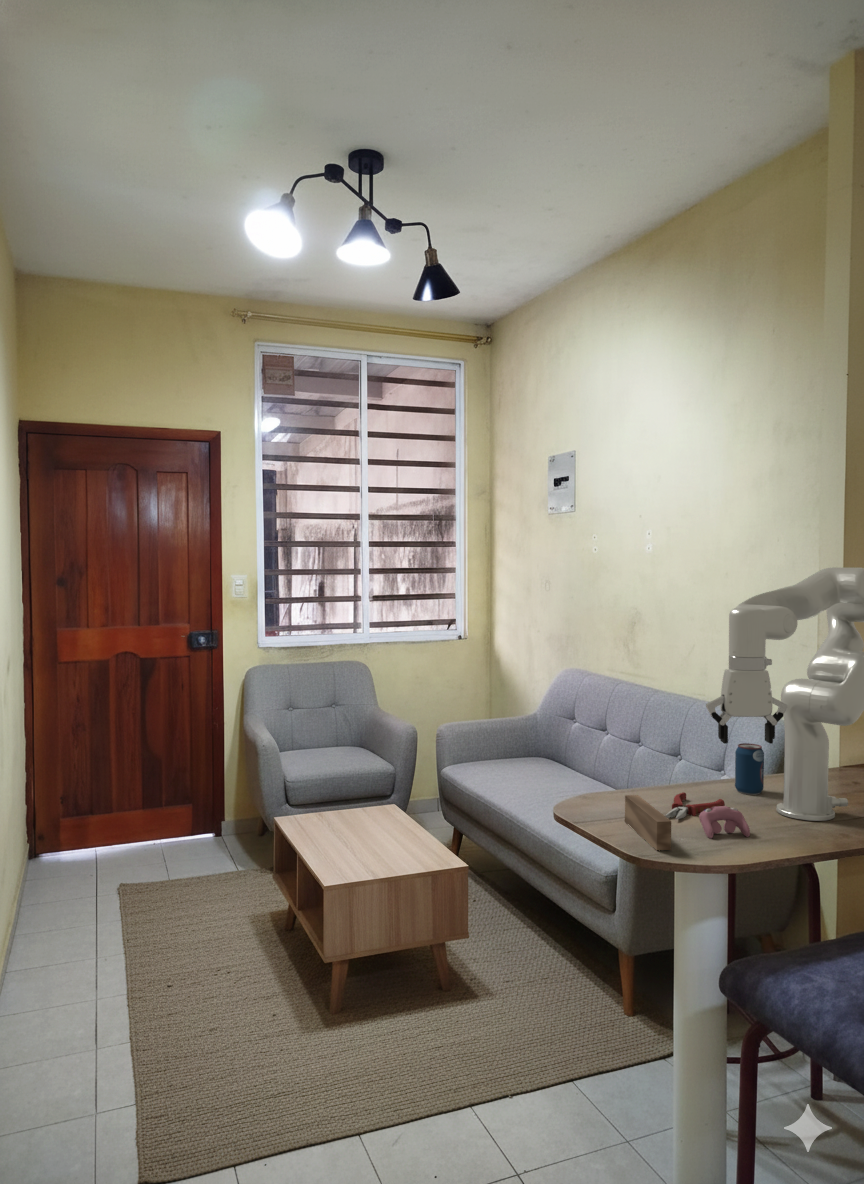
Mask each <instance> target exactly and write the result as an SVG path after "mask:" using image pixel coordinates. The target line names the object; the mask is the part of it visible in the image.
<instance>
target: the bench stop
mask: <svg viewBox="0 0 864 1184" xmlns="http://www.w3.org/2000/svg"><path fill="white" fill-rule="evenodd" d="M624 822H625V824H627V825H628V824H629V825H630V826H631V827H632V828H633V829H634V830H635V831H636V832H637V834H638V836H640V837H641V838H642V839H643V840H644V839H645V840H646V841H647V842H648V843H649V844H650V845H649V846H650V847H652V848H653V847H654V848H655V849H656V850H659V851H658V852H661V851H660V850H671V851H672V820H670V819H669V818H666V817H665V814H663V813H661V812H660V811H659V810H658V809H656V808H655V807H654V806H652V805H651V804H650V803H649V802H647V801H646V800H645V799H643V798H642V797H641V796H640V795H638V794H632V795H631V794H628V795H627V794H625V795H624ZM629 825H628V826H629ZM630 826H629V827H630ZM631 827H630V828H631ZM632 828H631V829H632ZM633 829H632V830H633ZM634 830H633V831H634ZM635 831H634V832H635ZM636 832H635V833H636ZM645 840H644V841H645ZM646 841H645V842H646ZM647 842H646V843H647ZM648 843H647V844H648ZM654 848H653V849H654ZM655 849H654V850H655ZM656 850H655V851H656Z"/></svg>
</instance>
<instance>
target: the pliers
mask: <svg viewBox="0 0 864 1184" xmlns="http://www.w3.org/2000/svg"><path fill="white" fill-rule="evenodd" d="M684 800H685V801H686V800H687V793H686V792H680V793H677V794H676V795H675V796H674V797H673V803H672V804H671V810H670V811H669V812H667V813H666V814H664V816H665V817H666V818H668V819H669V818H670V817H671V818H675V820H676V821H677V820H680V819H684V818H686V816H692V817H696V816H697V815H700V813H701V812H703V811H704V810H705V809H709V808H712V807H716V806H726V803H725V801H724V799H721V798H719V799H717V800H715V801H712V802H705V803H704V802H703V803H694V804H689V803H688V804H685V805H684V804H683V802H684ZM674 816H676V817H674ZM671 818H670V819H671Z"/></svg>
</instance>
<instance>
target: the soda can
mask: <svg viewBox="0 0 864 1184" xmlns="http://www.w3.org/2000/svg"><path fill="white" fill-rule="evenodd" d="M762 747H763V746H762V745H761V744H756V743H748V742H745V743H738V744H737V748H736V750H735V753H734V754H735V757H734V758H735V759H734V761H735V762H734V763H735V764H734V787H735V789H736V791H737V792H738V793H739V794H744V795H748V796H749V795H750V796H751V795H752V796H755V795H760V794H761V793H762V792H763V790H764V785H765V784H764V780H765V779H764V778H765V777H764V774H765V752H764V750H763V748H762Z"/></svg>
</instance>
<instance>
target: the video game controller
mask: <svg viewBox="0 0 864 1184" xmlns="http://www.w3.org/2000/svg"><path fill="white" fill-rule="evenodd" d="M698 815H699V816H698V817H699V819H698V820H699V822H700V823H701V826H702V829H703V832H704V834H705V835H706V837H707V838H708V839H710V840H711V839H713V837H714V835H715V834H716V835H717V834H720V833H721V832H722V825H721V823H719V822H720V821H724V823H723V831H724V832H725V833H726V834H732V833H734V832H736V828H738V829H739V830H740V832H741V833H742V835H744V836H745V837H746V838H748V837H750V835H751V832H750V831H751V830H750V826H749V824H748V823H747V820H746V819H745V817H744V815H743V813H742V812H741V811H740V810H739V809H738V808H737V807H729V806H727V805H725V806H716V807H712V808H709V809H705V810H704V811H703V812H701V813H700V814H698Z"/></svg>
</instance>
